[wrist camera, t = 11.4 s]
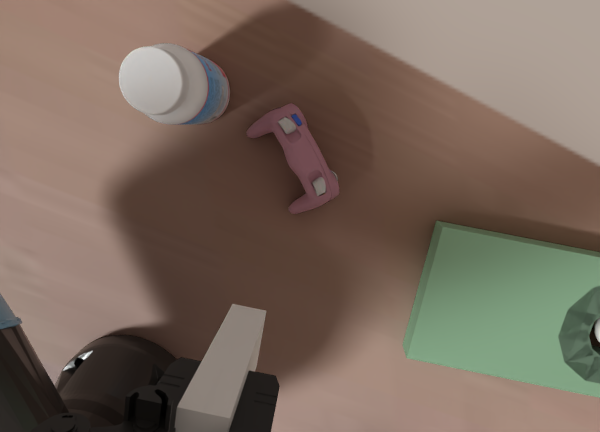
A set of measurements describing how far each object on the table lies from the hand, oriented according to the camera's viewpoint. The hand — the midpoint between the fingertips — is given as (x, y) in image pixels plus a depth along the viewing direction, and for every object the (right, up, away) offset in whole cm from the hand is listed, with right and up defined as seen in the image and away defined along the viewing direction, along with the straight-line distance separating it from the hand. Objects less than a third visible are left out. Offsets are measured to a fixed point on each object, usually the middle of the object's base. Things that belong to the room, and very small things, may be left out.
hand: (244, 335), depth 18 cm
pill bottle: (-7, +17, +22) cm, 29 cm away
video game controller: (+2, +11, +23) cm, 25 cm away
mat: (+27, -4, +24) cm, 37 cm away
